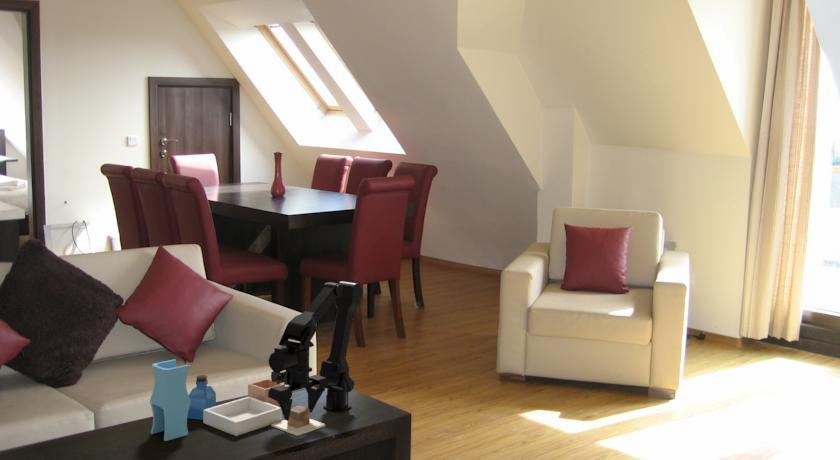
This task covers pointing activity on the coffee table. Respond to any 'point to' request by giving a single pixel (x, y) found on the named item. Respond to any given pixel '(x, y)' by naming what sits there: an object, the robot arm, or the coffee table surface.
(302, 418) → the walnut block
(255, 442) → the coffee table surface
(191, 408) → the perfume bottle
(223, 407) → the white bin
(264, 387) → the terracotta pot
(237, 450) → the coffee table surface
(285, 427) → the cream coaster
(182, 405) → the vase
